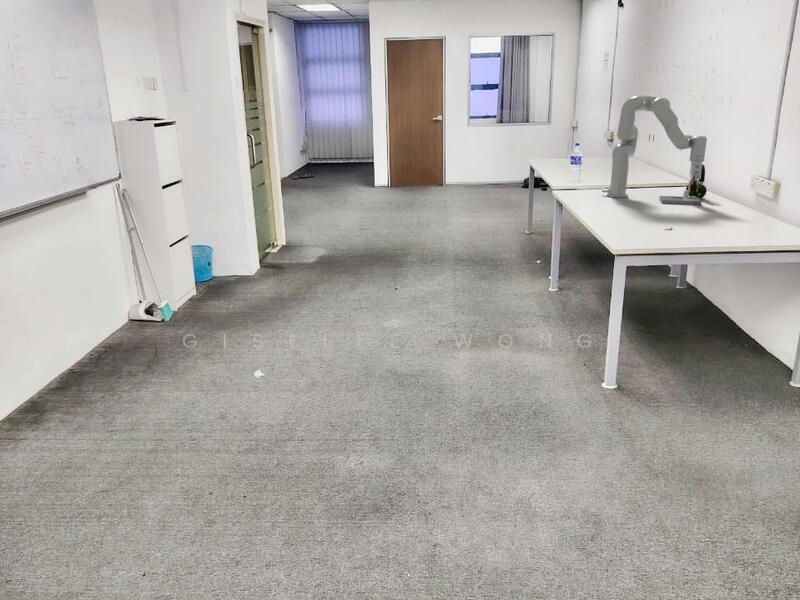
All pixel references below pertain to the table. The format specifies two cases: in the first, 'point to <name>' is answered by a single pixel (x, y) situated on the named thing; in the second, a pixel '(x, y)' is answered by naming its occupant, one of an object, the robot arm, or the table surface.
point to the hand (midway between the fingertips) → (692, 190)
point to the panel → (680, 200)
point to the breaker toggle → (686, 193)
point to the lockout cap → (690, 185)
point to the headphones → (699, 186)
